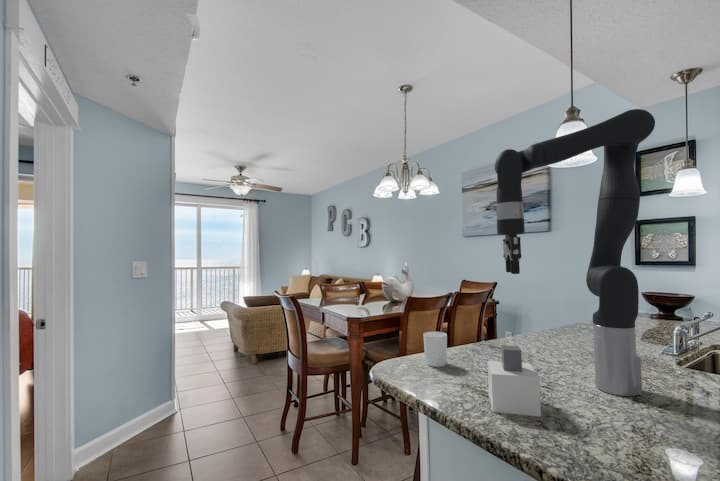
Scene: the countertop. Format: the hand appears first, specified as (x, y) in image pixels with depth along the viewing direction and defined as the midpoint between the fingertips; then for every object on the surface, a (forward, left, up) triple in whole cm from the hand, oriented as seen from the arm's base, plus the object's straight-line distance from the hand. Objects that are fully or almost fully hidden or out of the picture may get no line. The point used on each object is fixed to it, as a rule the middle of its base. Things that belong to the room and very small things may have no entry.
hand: (512, 273), depth 101 cm
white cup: (+24, -10, -31) cm, 41 cm away
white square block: (+4, +18, -31) cm, 36 cm away
